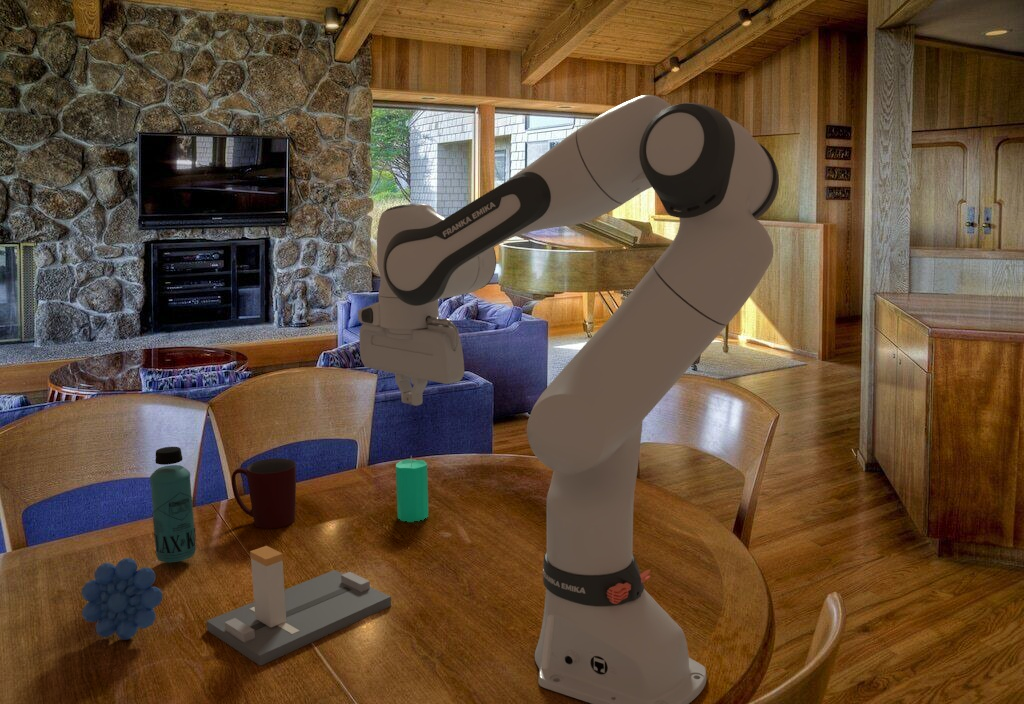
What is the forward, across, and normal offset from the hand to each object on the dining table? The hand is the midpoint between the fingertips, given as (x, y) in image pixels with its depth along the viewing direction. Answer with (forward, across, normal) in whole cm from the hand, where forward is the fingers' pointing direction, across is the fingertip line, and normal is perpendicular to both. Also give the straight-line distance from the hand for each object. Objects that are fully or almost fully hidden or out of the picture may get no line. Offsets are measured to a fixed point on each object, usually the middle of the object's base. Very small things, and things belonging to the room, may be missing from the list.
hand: (412, 403), depth 130 cm
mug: (+29, +41, +2) cm, 50 cm away
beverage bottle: (+29, +36, +22) cm, 51 cm away
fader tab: (+27, +4, +24) cm, 37 cm away
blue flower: (+29, +18, +38) cm, 51 cm away
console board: (+29, +4, +19) cm, 35 cm away
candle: (+29, +22, -18) cm, 41 cm away
